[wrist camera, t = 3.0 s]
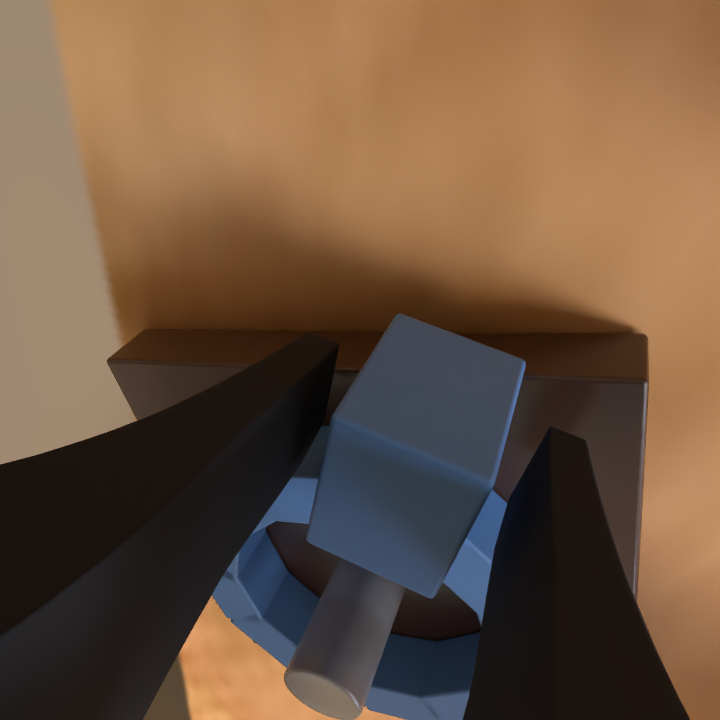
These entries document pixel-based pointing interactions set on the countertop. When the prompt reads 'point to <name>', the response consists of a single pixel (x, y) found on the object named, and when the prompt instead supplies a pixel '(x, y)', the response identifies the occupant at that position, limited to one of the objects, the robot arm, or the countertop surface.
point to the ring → (395, 507)
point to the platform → (527, 429)
